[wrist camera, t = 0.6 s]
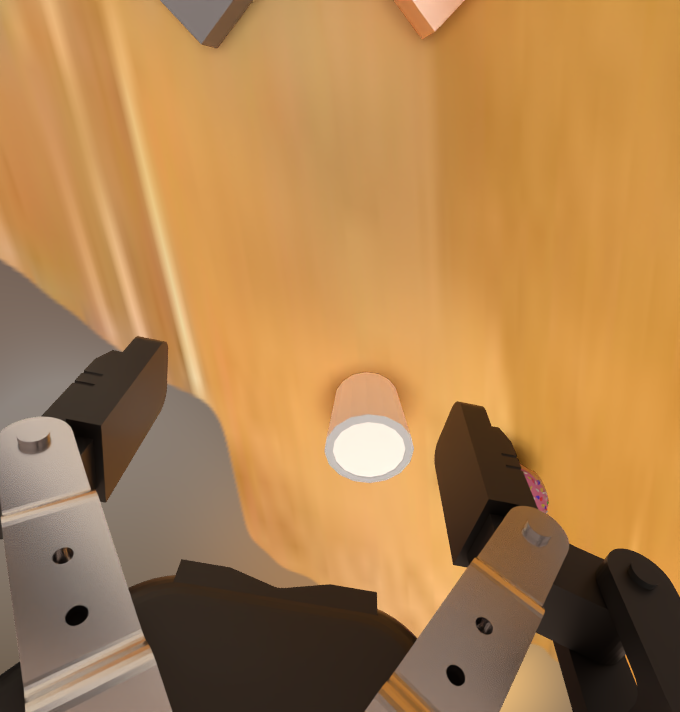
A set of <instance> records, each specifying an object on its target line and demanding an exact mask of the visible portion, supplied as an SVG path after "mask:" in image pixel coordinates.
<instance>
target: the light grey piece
mask: <svg viewBox="0 0 680 712" xmlns="http://www.w3.org/2000/svg"><path fill="white" fill-rule="evenodd" d="M413 450H414V447H413V443H412V439H411V435H410V432H409V428H408V425H407V422H406V419H405V416H404V413H403V410H402V406H401V403H400V400H399V397H398V394H397V391H396V388H395V386H394V385H393V384H392V383H391V382H390V380H389V379H387V378H385V377H383V376H381V375H380V374H377V373H369V372H363V373H359V374H354V375H352V376H350V377H349V378H347V379H345V380H344V381H343V382H342V383H341V384H340V386H339V387H338V389H337V391H336V396H335V400H334V405H333V410H332V415H331V420H330V425H329V429H328V434H327V439H326V446H325V454H326V457H327V460H328V463H329V465H330V466H331V467H332V468H333V469H334V470H335V471H336V472H337V473H338V474H339V475H342V476H344V477H346V478H348V479H350V480H353V481H358V482H367V483H372V482H378V481H384V480H388V479H389V478H391V477H393V476H395V475H397V474H399V473H401V472H402V470H403V469H404V468H405V467H406V466H407V465H408V464H409V463H410V461H411V457H412V454H413Z"/></svg>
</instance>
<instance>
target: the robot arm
mask: <svg viewBox="0 0 680 712" xmlns="http://www.w3.org/2000/svg"><path fill="white" fill-rule="evenodd" d="M167 367H168V345H167V343H166V342H164V341H159V340H154V339H149V338H144V337H139V336H137V337H136V338H135V339H134V340H133V341H132V342H131V343H130V344H129V345H128V347H127V348H126V349H125V350H124V351H123V352H119V351H114V350H112V351H110V352H108V353H106V354H104V355H102V356H100V357H98V358H96V359H95V360H94V361H93V362H92V363H91V364H90V365H89V366H88V367H87V368H86V369H85V370H84V373H81V374H80V376H79V377H78V378H77V379H76V380H75V383H72V384H71V385H70V386H69V387H68V388H67V389H66V391H65V392H64V393H63V394H62V395H61V396H60V397H59V398H58V399H57V400H56V401H55V402H54V403H53V404H52V405H51V406H50V408H49V409H48V410H47V411H46V412H45V413H44V414H43V415H42V416H41V417H32V418H27V419H23V420H20V421H17V422H15V423H13V424H10V425H9V426H7V427H5V428H4V429H3V430H1V431H0V539H3V540H4V547H5V554H6V562H7V569H8V576H9V584H10V591H11V599H12V606H13V613H14V621H15V627H16V636H17V643H18V650H19V658H20V662H18V663H17V664H15V665H14V666H13V667H11V668H10V669H8V670H7V671H5V672H4V673H3V674H1V675H0V712H499V711H500V709H501V707H502V705H503V703H504V700H505V698H506V696H507V694H508V692H509V690H510V687H511V685H512V683H513V681H514V679H515V676H516V674H517V672H518V670H519V668H520V666H521V663H522V661H523V659H524V657H525V654H526V652H527V650H528V648H529V645H530V644H531V641H532V639H533V637H534V635H535V633H538V634H540V635H542V636H544V637H546V638H548V639H551V640H553V643H554V646H555V650H556V653H557V657H558V661H559V664H560V668H561V671H562V675H563V678H564V681H565V685H566V689H567V692H568V696H569V699H570V703H571V707H572V710H573V712H680V597H679V595H678V593H677V591H676V589H675V588H674V586H673V584H672V582H671V581H670V579H669V578H668V577H667V575H666V574H665V573H664V572H663V571H662V570H661V569H660V568H659V567H658V566H657V565H656V564H654V563H653V562H652V561H650V560H649V559H647V558H646V557H644V556H643V555H641V554H639V553H636V552H634V551H631V550H628V549H614V550H613V551H611V552H610V553H609V554H608V556H607V557H606V558H605V559H602V558H599V557H597V556H595V555H593V554H590V553H588V552H586V551H584V550H582V549H579V548H577V547H575V546H573V545H571V544H569V541H568V538H567V535H566V533H565V532H564V530H563V529H562V527H561V526H560V525H559V524H558V523H557V522H556V521H555V520H554V519H553V518H552V517H550V516H549V515H547V514H546V513H544V512H542V511H540V510H538V507H537V505H536V502H535V500H534V497H533V495H532V492H531V490H530V487H529V485H528V483H527V480H526V478H525V475H524V473H523V471H522V470H521V465H520V463H519V460H518V459H517V458H516V457H517V455H516V453H515V450H514V448H513V445H512V443H511V441H510V440H509V439H508V438H507V436H506V435H505V434H504V433H503V432H502V431H501V430H500V428H497V427H492V426H491V424H490V421H489V418H488V415H487V413H486V410H485V408H484V407H482V406H477V405H472V404H467V403H463V402H456V403H455V404H454V405H453V407H452V409H451V411H450V414H449V416H448V418H447V421H446V423H445V426H444V428H443V430H442V433H441V435H440V437H439V440H438V442H437V445H436V450H435V468H436V474H437V479H438V485H439V490H440V496H441V501H442V506H443V512H444V517H445V523H446V528H447V534H448V539H449V544H450V550H451V555H452V561H453V565H457V566H463V567H468V568H467V569H466V570H465V572H464V573H463V575H462V576H461V578H460V579H459V580H458V582H457V583H456V585H455V586H454V588H453V589H452V590H451V592H450V593H449V595H448V596H447V598H446V599H445V600H444V602H443V603H442V605H441V606H440V607H439V609H438V610H437V612H436V613H435V615H434V616H433V617H432V619H431V620H430V622H429V623H428V625H427V626H426V627H425V629H424V630H423V632H422V633H421V635H420V636H419V637H418V639H417V638H416V637H415V635H414V634H413V633H412V632H411V631H409V630H408V629H407V628H406V627H405V626H404V625H403V624H401V623H400V622H399V621H397V620H396V619H395V618H393V617H391V616H390V615H388V614H386V613H385V612H383V611H381V610H378V609H377V592H372V591H366V590H360V589H354V588H348V587H342V586H336V585H330V584H329V585H317V586H305V587H293V588H277V587H274V586H271V585H269V584H267V583H264V582H262V581H260V580H258V579H255V578H253V577H251V576H248V575H246V574H244V573H242V572H239V571H237V570H234V569H232V568H230V567H224V566H218V565H212V564H206V563H200V562H194V561H188V560H181V562H180V565H179V568H178V571H177V573H176V575H172V576H164V577H159V578H154V579H151V580H147V581H144V582H141V583H139V584H136V585H134V586H132V587H129V588H128V586H127V583H126V580H125V577H124V574H123V571H122V568H121V565H120V562H119V559H118V555H117V552H116V550H115V546H114V543H113V540H112V537H111V534H110V531H109V528H108V525H107V521H106V519H105V515H104V512H103V509H102V506H101V503H100V502H107V500H108V498H109V497H110V495H111V493H112V491H113V490H114V488H115V487H116V485H117V483H118V482H119V480H120V478H121V476H122V475H123V473H124V472H125V470H126V468H127V467H128V465H129V463H130V462H131V460H132V458H133V456H134V455H135V453H136V451H137V450H138V448H139V446H140V445H141V443H142V441H143V440H144V438H145V436H146V435H147V433H148V431H149V430H150V428H151V426H152V425H153V423H154V421H155V420H156V418H157V416H158V415H159V413H160V411H161V409H162V407H163V404H164V401H165V397H166V392H167ZM625 654H626V655H627V658H628V660H629V663H630V665H631V668H632V670H633V673H634V675H635V678H636V682H637V685H636V683H635V680H634V678H633V675H632V673H631V670H630V668H629V665H628V663H627V660H626V658H625Z"/></svg>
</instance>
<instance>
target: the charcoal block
mask: <svg viewBox="0 0 680 712" xmlns="http://www.w3.org/2000/svg"><path fill="white" fill-rule="evenodd" d="M160 1H161V2H162V3H163V4H164V5H165V6H166V7H167V8H168V9H169V10H170V11H171V12H172V14H173V15H174V16H175V17H176V18H177V19H178V20H179V21H180V22H181V23H182V24H183V25H184V26H185V27H186V28H187V30H188V31H189V32H190V33H191V34H192V35H193V36H194V37H195V38H196V39H197V40H198V41H199V42H200V43H201V44H202V45H206V46H210V47H214V48H218V46H219V45H220V44H221V42H222V41H223V40H224V38H225V37H226V36H227V34H228V33H229V32H230V30H231V29H232V28H233V26H234V25H235V24H236V22H237V21H238V20H239V18H240V17H241V16H242V14H243V13H244V12H245V10H246V9H247V8H248V6H249V5H250V4H251V2H252V1H253V0H160Z"/></svg>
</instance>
